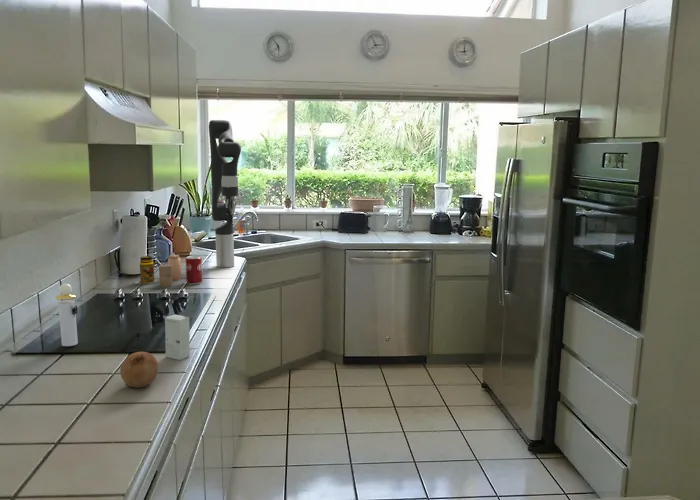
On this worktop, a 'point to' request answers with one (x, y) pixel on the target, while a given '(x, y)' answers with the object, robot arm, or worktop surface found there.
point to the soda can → (193, 270)
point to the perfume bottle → (67, 316)
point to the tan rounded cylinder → (175, 266)
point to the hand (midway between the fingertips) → (230, 222)
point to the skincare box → (177, 337)
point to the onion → (139, 369)
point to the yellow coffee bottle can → (146, 270)
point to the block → (165, 275)
